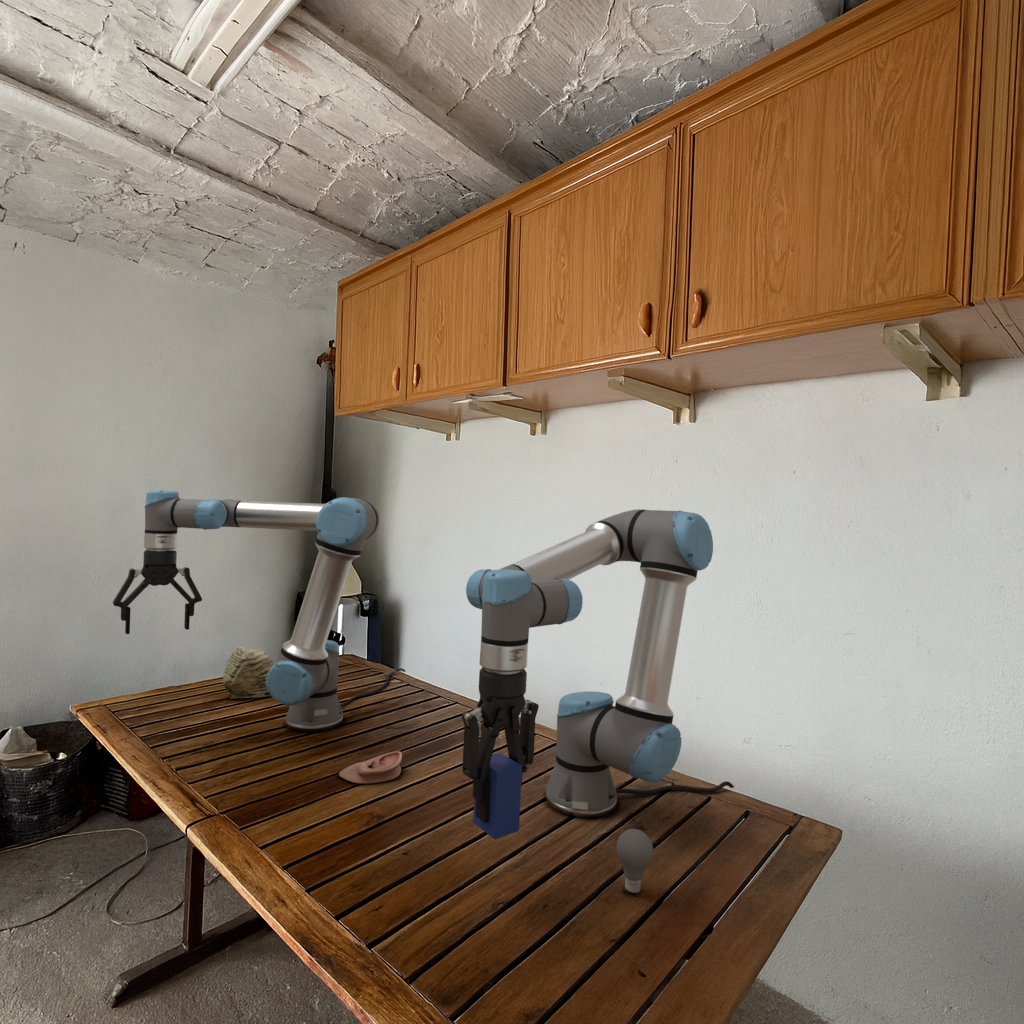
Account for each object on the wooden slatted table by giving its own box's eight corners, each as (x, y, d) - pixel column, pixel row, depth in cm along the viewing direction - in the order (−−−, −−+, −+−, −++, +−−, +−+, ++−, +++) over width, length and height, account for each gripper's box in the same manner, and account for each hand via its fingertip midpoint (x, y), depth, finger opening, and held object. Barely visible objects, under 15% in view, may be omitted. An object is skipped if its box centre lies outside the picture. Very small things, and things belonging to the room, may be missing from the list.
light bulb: (610, 879, 108) (613, 822, 108) (644, 879, 109) (647, 822, 109) (619, 902, 102) (622, 840, 102) (655, 901, 103) (658, 840, 103)
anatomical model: (332, 762, 141) (355, 743, 152) (332, 780, 141) (355, 759, 153) (388, 770, 139) (407, 750, 150) (388, 788, 139) (407, 766, 150)
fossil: (218, 695, 195) (220, 647, 195) (278, 685, 208) (279, 640, 207) (228, 703, 189) (230, 653, 188) (289, 692, 201) (290, 645, 201)
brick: (494, 839, 97) (497, 772, 97) (473, 822, 102) (475, 758, 101) (519, 831, 100) (522, 765, 99) (497, 814, 104) (500, 752, 104)
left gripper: (104, 551, 154) (101, 638, 155) (215, 550, 169) (212, 629, 169) (102, 548, 160) (99, 632, 161) (209, 547, 175) (207, 624, 175)
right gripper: (468, 681, 92) (461, 840, 92) (561, 667, 102) (554, 809, 103) (442, 669, 98) (435, 818, 98) (532, 656, 108) (526, 791, 109)
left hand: (157, 630), depth 165 cm, fingers open, 13 cm apart
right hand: (496, 813), depth 101 cm, fingers closed on brick, 5 cm apart
